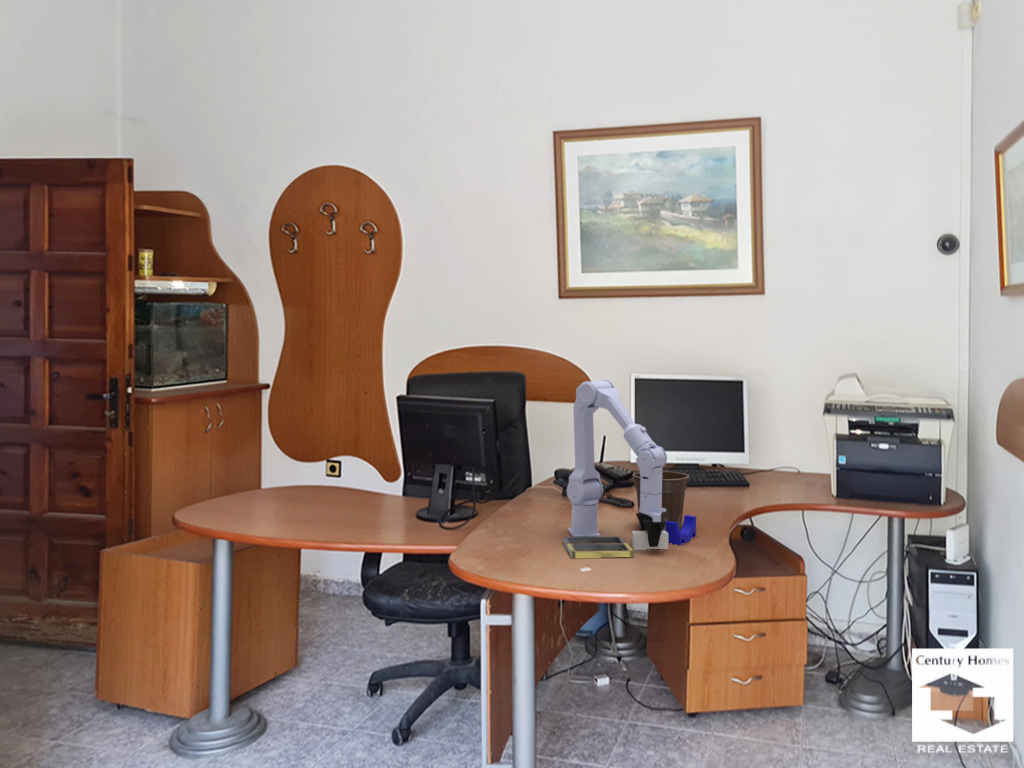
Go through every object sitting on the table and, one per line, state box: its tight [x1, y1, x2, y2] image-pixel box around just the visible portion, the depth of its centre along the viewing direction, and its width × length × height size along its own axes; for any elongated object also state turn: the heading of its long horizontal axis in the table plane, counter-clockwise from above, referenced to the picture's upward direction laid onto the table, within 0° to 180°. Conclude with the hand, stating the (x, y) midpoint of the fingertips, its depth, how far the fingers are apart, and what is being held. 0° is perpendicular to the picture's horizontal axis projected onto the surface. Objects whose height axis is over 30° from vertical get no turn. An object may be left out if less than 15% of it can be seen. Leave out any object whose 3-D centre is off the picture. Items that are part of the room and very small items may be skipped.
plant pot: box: [632, 470, 690, 531], centre depth 258 cm, size 16×16×16 cm
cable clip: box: [666, 514, 697, 546], centre depth 245 cm, size 12×4×6 cm, turn 141°
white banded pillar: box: [631, 530, 669, 551], centre depth 236 cm, size 4×9×5 cm, turn 94°
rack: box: [562, 535, 635, 559], centre depth 234 cm, size 17×16×2 cm
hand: (650, 543), depth 236 cm, fingers open, 7 cm apart
